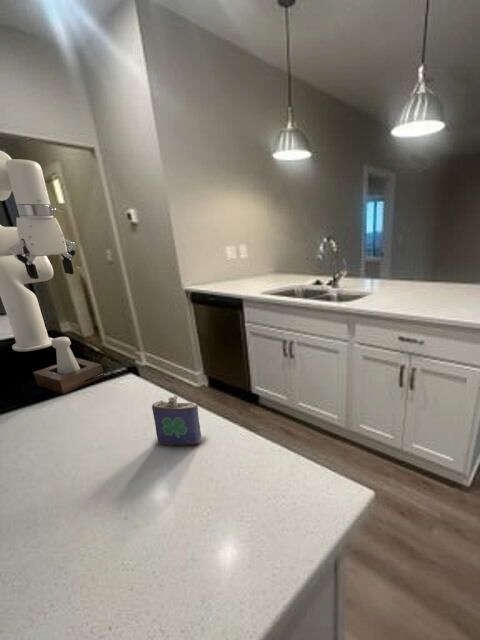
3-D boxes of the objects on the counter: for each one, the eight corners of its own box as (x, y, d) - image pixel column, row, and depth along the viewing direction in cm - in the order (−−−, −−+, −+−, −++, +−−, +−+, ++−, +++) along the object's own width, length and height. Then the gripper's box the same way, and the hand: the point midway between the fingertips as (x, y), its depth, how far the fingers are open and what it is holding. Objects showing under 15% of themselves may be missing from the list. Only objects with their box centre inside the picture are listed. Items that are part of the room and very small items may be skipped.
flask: (203, 438, 73) (197, 394, 69) (199, 447, 70) (192, 401, 66) (161, 437, 73) (152, 393, 69) (155, 445, 71) (145, 400, 67)
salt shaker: (72, 386, 95) (59, 342, 90) (54, 384, 96) (41, 341, 91) (88, 377, 101) (77, 335, 96) (71, 375, 102) (59, 334, 97)
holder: (37, 385, 96) (33, 372, 95) (79, 369, 106) (75, 357, 105) (63, 394, 91) (59, 380, 90) (104, 376, 101) (101, 364, 100)
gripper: (60, 212, 102) (74, 270, 109) (-10, 211, 88) (11, 279, 95) (75, 212, 99) (89, 273, 106) (6, 212, 85) (26, 282, 92)
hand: (52, 275), depth 100 cm, fingers open, 9 cm apart
